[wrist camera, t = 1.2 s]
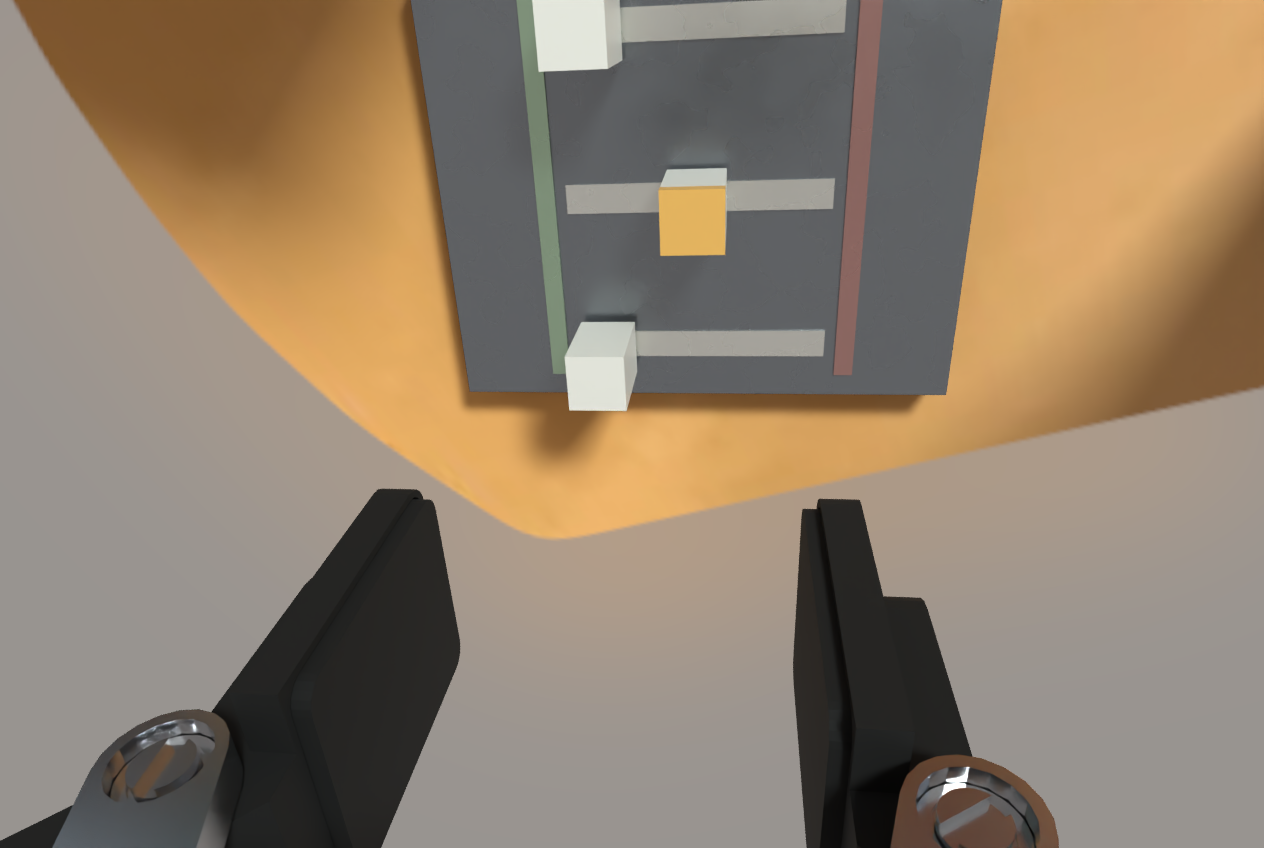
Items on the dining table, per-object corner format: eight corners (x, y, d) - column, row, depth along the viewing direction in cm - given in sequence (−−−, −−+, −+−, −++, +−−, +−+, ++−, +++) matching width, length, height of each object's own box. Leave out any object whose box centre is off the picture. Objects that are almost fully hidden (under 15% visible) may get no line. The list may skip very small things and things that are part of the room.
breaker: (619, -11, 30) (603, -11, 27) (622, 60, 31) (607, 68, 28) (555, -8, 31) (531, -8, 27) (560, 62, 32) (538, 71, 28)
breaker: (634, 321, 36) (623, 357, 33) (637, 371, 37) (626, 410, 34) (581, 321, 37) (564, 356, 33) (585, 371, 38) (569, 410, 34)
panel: (997, -71, 30) (1013, -75, 28) (936, 376, 39) (946, 396, 37) (422, -36, 33) (404, -38, 31) (481, 374, 41) (469, 392, 39)
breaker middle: (726, 167, 33) (725, 188, 29) (726, 227, 34) (725, 254, 30) (666, 169, 33) (658, 190, 30) (668, 228, 34) (660, 256, 31)
